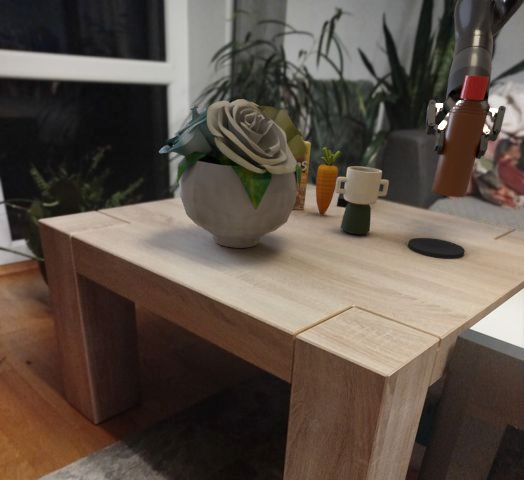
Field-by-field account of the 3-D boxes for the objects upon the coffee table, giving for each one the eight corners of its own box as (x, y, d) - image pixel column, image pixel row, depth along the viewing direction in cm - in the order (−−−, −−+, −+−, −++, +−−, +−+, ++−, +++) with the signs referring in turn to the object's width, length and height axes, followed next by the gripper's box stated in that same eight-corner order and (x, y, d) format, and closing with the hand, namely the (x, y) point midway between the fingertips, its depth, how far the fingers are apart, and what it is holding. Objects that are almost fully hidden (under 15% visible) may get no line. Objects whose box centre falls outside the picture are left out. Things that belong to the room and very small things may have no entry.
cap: (476, 99, 90) (482, 76, 89) (487, 100, 87) (493, 77, 85) (456, 97, 90) (461, 75, 88) (466, 98, 86) (471, 75, 85)
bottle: (456, 190, 100) (484, 79, 90) (471, 197, 94) (503, 80, 85) (426, 188, 99) (451, 77, 89) (439, 196, 93) (467, 77, 84)
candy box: (268, 209, 120) (274, 140, 113) (265, 204, 124) (270, 138, 117) (304, 210, 122) (312, 142, 115) (300, 206, 126) (307, 140, 118)
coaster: (449, 242, 106) (450, 238, 106) (474, 259, 96) (475, 255, 96) (399, 240, 104) (400, 236, 104) (419, 257, 95) (420, 253, 95)
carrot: (335, 215, 120) (345, 148, 112) (326, 219, 116) (336, 150, 109) (317, 211, 122) (325, 145, 115) (307, 215, 118) (315, 147, 111)
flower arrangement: (236, 275, 80) (245, 104, 68) (142, 236, 94) (136, 90, 82) (328, 247, 96) (348, 106, 84) (236, 218, 110) (242, 94, 99)
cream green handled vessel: (374, 229, 111) (386, 167, 105) (383, 238, 105) (396, 174, 98) (326, 226, 110) (334, 164, 104) (332, 236, 104) (341, 170, 97)
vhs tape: (367, 198, 140) (368, 191, 139) (366, 209, 128) (367, 201, 127) (340, 195, 141) (341, 188, 140) (336, 206, 129) (338, 198, 128)
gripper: (434, 61, 93) (423, 135, 89) (516, 67, 91) (508, 144, 87) (426, 92, 100) (415, 162, 96) (502, 98, 98) (494, 171, 94)
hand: (459, 153), depth 91 cm, fingers closed on bottle, 6 cm apart
